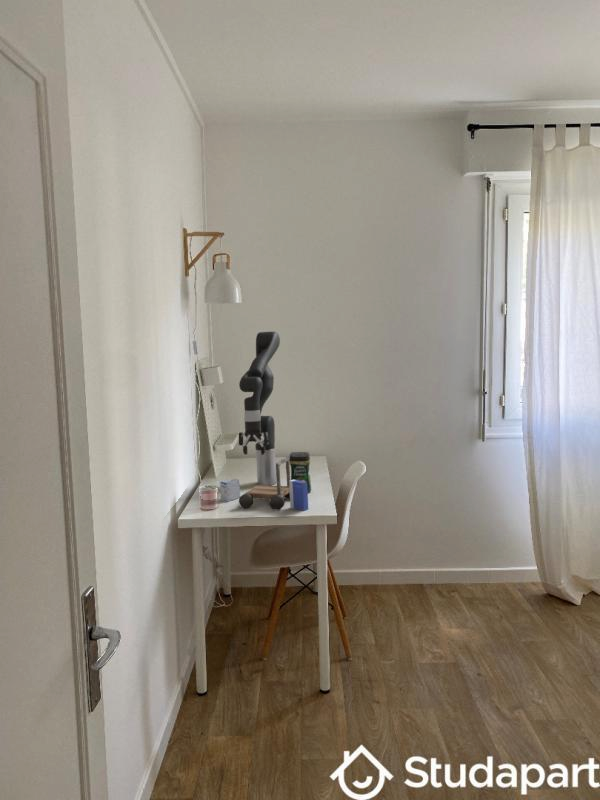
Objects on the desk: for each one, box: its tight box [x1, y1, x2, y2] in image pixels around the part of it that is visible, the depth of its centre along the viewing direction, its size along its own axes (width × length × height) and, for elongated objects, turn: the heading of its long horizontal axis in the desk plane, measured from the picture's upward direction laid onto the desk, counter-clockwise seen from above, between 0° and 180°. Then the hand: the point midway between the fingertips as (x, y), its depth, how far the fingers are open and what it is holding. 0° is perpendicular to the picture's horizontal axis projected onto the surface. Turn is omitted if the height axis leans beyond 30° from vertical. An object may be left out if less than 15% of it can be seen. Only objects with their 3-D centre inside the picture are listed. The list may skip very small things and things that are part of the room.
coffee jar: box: [289, 451, 312, 494], centre depth 297 cm, size 10×8×19 cm
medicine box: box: [219, 477, 241, 503], centre depth 292 cm, size 8×4×9 cm, turn 141°
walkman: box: [289, 479, 309, 511], centre depth 271 cm, size 8×3×12 cm, turn 47°
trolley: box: [238, 456, 291, 511], centre depth 281 cm, size 18×20×19 cm
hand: (254, 454), depth 303 cm, fingers open, 8 cm apart
